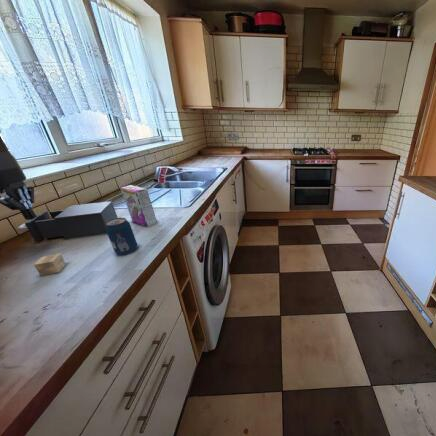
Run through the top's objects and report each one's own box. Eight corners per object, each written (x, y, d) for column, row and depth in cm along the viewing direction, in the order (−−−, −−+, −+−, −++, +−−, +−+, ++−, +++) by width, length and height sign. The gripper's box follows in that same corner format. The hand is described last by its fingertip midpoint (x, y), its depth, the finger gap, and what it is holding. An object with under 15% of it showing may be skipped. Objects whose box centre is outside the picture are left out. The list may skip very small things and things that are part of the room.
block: (40, 276, 70) (33, 264, 68) (49, 267, 74) (42, 256, 72) (59, 273, 71) (52, 261, 69) (66, 264, 75) (60, 253, 73)
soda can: (131, 243, 86) (120, 215, 81) (142, 248, 83) (132, 219, 78) (111, 253, 81) (98, 223, 75) (122, 258, 78) (110, 227, 72)
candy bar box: (131, 222, 102) (119, 187, 95) (142, 218, 106) (131, 184, 99) (147, 227, 97) (135, 191, 90) (158, 223, 101) (147, 188, 94)
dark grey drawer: (19, 243, 85) (8, 225, 81) (38, 229, 95) (28, 212, 91) (78, 235, 90) (69, 217, 87) (90, 222, 100) (83, 206, 96)
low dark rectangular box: (65, 239, 89) (53, 218, 85) (80, 225, 100) (70, 205, 95) (109, 233, 93) (100, 212, 89) (119, 220, 104) (111, 201, 99)
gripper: (0, 163, 72) (29, 212, 80) (-36, 173, 61) (2, 229, 69) (30, 161, 75) (56, 209, 82) (1, 170, 63) (33, 225, 71)
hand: (31, 218), depth 76 cm, fingers closed
